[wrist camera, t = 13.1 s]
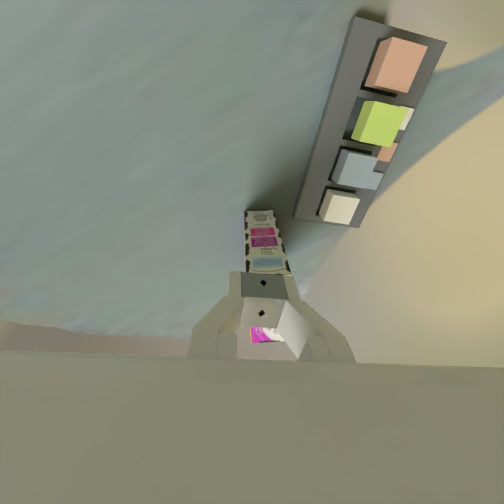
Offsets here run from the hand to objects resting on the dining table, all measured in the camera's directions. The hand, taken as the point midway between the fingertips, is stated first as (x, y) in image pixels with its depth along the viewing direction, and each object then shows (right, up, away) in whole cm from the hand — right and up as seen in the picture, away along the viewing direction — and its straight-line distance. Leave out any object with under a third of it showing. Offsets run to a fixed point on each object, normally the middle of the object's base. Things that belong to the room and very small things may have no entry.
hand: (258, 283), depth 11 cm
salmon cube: (+15, +23, +17) cm, 32 cm away
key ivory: (+12, +9, +25) cm, 30 cm away
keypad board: (+14, +16, +21) cm, 30 cm away
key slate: (+13, +14, +23) cm, 30 cm away
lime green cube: (+14, +18, +18) cm, 29 cm away
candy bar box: (+1, +4, +29) cm, 30 cm away
